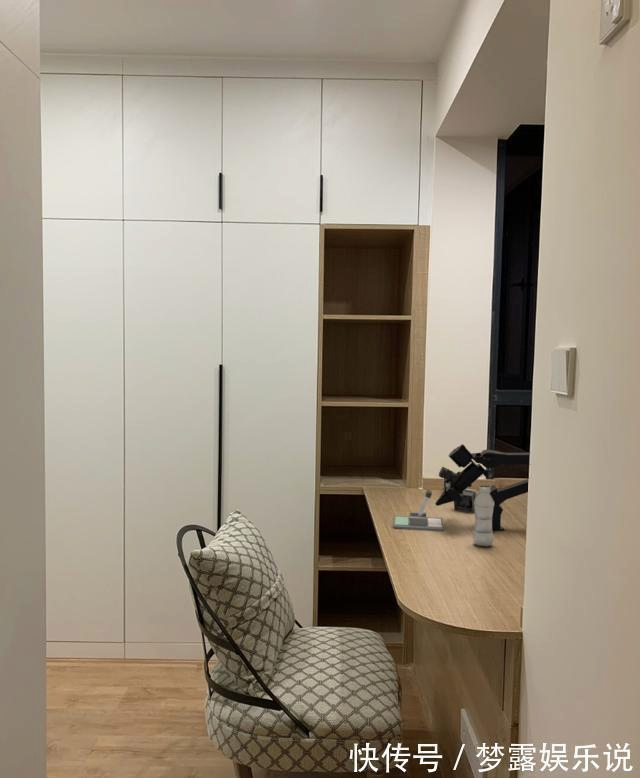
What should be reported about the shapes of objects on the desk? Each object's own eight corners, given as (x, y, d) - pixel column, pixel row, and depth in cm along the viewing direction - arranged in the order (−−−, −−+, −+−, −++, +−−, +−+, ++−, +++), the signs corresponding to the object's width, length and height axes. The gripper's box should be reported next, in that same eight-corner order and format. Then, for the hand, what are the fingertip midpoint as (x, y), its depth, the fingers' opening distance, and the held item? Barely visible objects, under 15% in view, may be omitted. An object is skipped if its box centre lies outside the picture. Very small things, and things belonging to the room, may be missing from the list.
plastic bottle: (496, 548, 205) (498, 488, 203) (477, 549, 203) (479, 489, 202) (488, 541, 211) (490, 483, 209) (469, 542, 210) (471, 484, 208)
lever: (419, 519, 232) (431, 491, 230) (419, 523, 228) (431, 494, 226) (415, 517, 232) (427, 489, 231) (415, 521, 228) (427, 492, 226)
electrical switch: (478, 511, 249) (478, 488, 247) (473, 515, 244) (473, 492, 243) (455, 507, 254) (455, 485, 252) (451, 511, 249) (450, 489, 248)
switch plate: (442, 520, 236) (442, 510, 235) (443, 531, 222) (444, 521, 221) (394, 517, 238) (394, 508, 238) (392, 528, 224) (393, 518, 224)
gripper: (450, 455, 235) (420, 482, 238) (454, 465, 217) (421, 495, 220) (471, 477, 235) (440, 504, 238) (476, 488, 217) (443, 518, 219)
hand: (436, 504), depth 228 cm, fingers closed
